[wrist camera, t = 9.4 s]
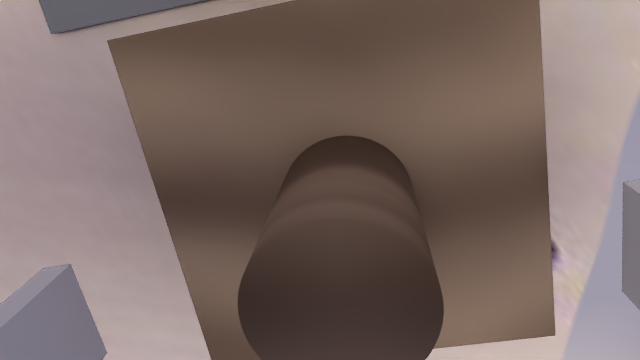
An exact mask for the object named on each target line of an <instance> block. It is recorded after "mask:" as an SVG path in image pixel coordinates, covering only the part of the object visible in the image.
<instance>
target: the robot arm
mask: <svg viewBox="0 0 640 360" xmlns="http://www.w3.org/2000/svg"><path fill="white" fill-rule="evenodd" d="M622 238H623V240H622V241H623V242H622V247H623V248H622V291H623V292H624V293H625V294H626V295H627V297H628V298H629V299H630V300H631V301H632V302H633V303H634V304H635V305H636V306H637V308H638V309H639V310H640V180H633V181H626V182H623V237H622ZM106 354H107V351H106V349H105V346H104V344H103V342H102V339H101V337H100V334H99V332H98V329H97V327H96V325H95V322H94V320H93V317H92V315H91V313H90V310H89V308H88V305H87V303H86V300H85V298H84V296H83V293H82V291H81V288H80V286H79V284H78V281H77V279H76V276H75V274H74V271H73V269H72V267H71V264H68V265H61V266H55V267H48V268H43V269H42V270H40V271H39V272H38V273H37V274H36V275H34V276H33V277H32V278H31V279H30V280H29V281H27V282H26V283H25V284H24V285H23V286H21V287H20V288H19V289H18V290H17V291H16V292H14V293H13V294H12V295H11V296H10V297H8V298H7V299H6V300H5V301H4V302H3V303H1V304H0V360H102V359H103V358H104V357H105V355H106Z"/></svg>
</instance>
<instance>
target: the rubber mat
mask: <svg viewBox="0 0 640 360" xmlns="http://www.w3.org/2000/svg"><path fill="white" fill-rule="evenodd" d="M202 1H207V0H39V2H40V5H41V8H42V10H43V13H44V16H45V19H46V21H47V24H48V27H49V30H50V32H51V34H56V33H61V32H66V31H70V30H75V29H79V28H84V27H89V26H93V25H98V24H102V23H107V22H111V21H116V20H120V19H125V18H129V17H134V16H139V15H143V14H148V13H152V12H157V11H161V10H166V9H170V8H175V7H179V6H184V5H189V4H193V3H198V2H202Z"/></svg>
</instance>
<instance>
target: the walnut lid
mask: <svg viewBox="0 0 640 360" xmlns="http://www.w3.org/2000/svg"><path fill="white" fill-rule="evenodd" d="M107 42H108V45H109V48H110V51H111V54H112V57H113V60H114V63H115V66H116V69H117V72H118V75H119V79H120V82H121V85H122V88H123V91H124V94H125V97H126V100H127V103H128V106H129V109H130V112H131V115H132V118H133V121H134V124H135V127H136V130H137V134H138V137H139V140H140V143H141V146H142V149H143V152H144V155H145V158H146V161H147V164H148V167H149V170H150V173H151V176H152V179H153V182H154V186H155V189H156V192H157V195H158V198H159V201H160V204H161V207H162V210H163V213H164V216H165V219H166V222H167V225H168V228H169V231H170V234H171V237H172V241H173V244H174V247H175V250H176V253H177V256H178V259H179V262H180V265H181V268H182V271H183V274H184V277H185V280H186V283H187V286H188V289H189V292H190V296H191V299H192V302H193V305H194V308H195V311H196V314H197V317H198V320H199V323H200V326H201V329H202V332H203V335H204V338H205V341H206V344H207V347H208V351H209V354H210V357H211V360H425V359H426V358H427V357H428V356H429V354H430V353H431V351H432V349H434V348H443V347H453V346H462V345H471V344H481V343H490V342H499V341H509V340H518V339H527V338H536V337H546V336H555V318H554V297H553V277H552V256H551V235H550V214H549V194H548V173H547V152H546V131H545V111H544V90H543V69H542V48H541V28H540V7H539V0H294V1H290V2H285V3H280V4H276V5H271V6H266V7H262V8H257V9H252V10H248V11H243V12H238V13H234V14H229V15H224V16H220V17H215V18H210V19H206V20H201V21H196V22H192V23H187V24H182V25H178V26H173V27H168V28H164V29H159V30H154V31H150V32H145V33H140V34H136V35H131V36H126V37H122V38H117V39H112V40H108V41H107Z"/></svg>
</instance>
